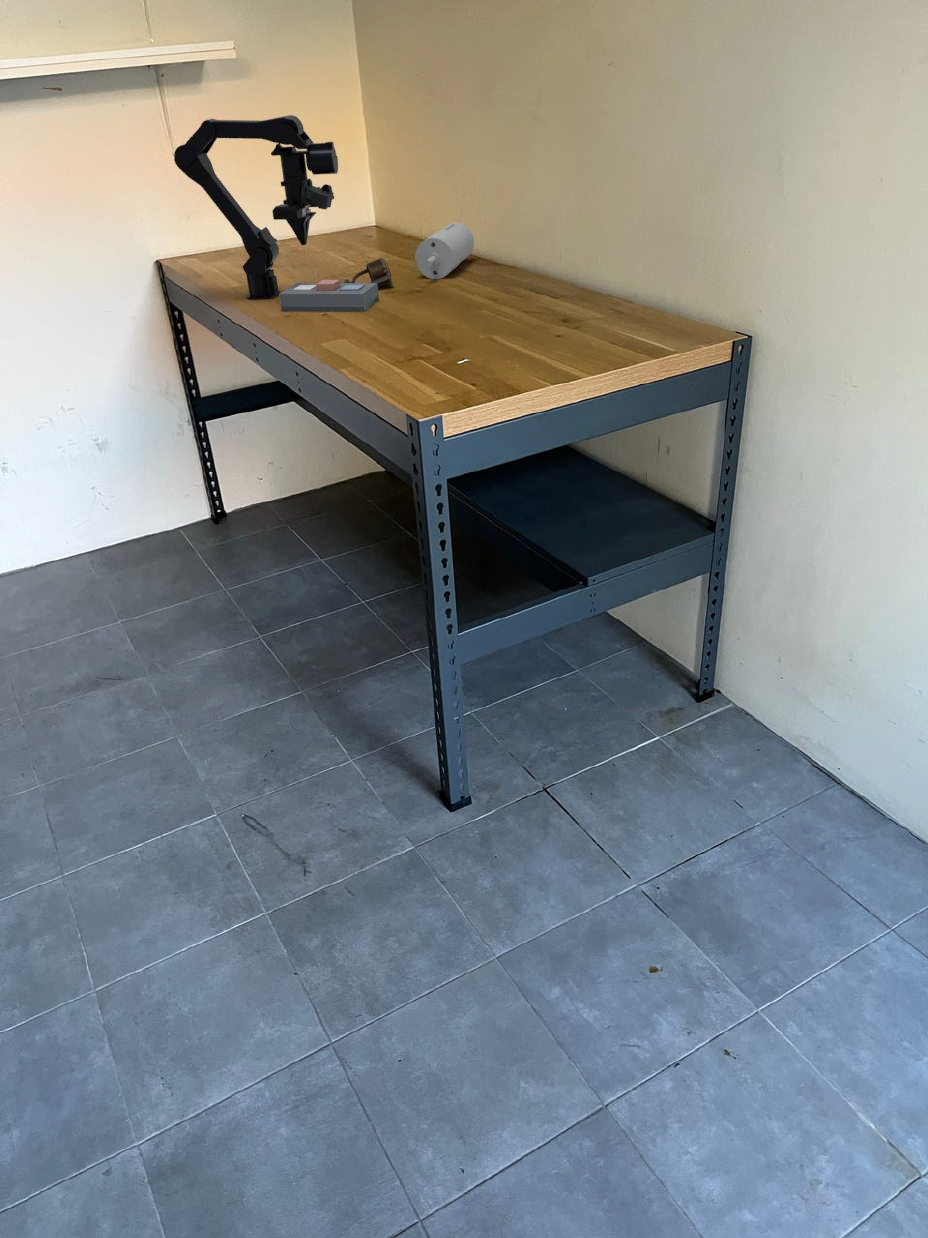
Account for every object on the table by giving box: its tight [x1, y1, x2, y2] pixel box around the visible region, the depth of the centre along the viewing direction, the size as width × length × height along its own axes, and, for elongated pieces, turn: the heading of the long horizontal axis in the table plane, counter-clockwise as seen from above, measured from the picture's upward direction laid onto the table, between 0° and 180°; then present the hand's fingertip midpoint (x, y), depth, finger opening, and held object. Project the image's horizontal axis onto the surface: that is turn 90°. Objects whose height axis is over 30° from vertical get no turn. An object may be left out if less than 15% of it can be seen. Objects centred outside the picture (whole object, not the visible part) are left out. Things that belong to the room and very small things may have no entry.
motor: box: [414, 222, 475, 280], centre depth 251 cm, size 30×10×10 cm, turn 165°
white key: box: [293, 285, 316, 291], centre depth 226 cm, size 4×4×3 cm
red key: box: [316, 279, 341, 291], centre depth 224 cm, size 4×4×3 cm
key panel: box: [278, 282, 380, 313], centre depth 225 cm, size 21×11×4 cm, turn 77°
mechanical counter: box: [343, 257, 394, 289], centre depth 238 cm, size 7×13×10 cm
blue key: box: [340, 285, 364, 291], centre depth 223 cm, size 4×4×3 cm
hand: (304, 244), depth 231 cm, fingers closed
